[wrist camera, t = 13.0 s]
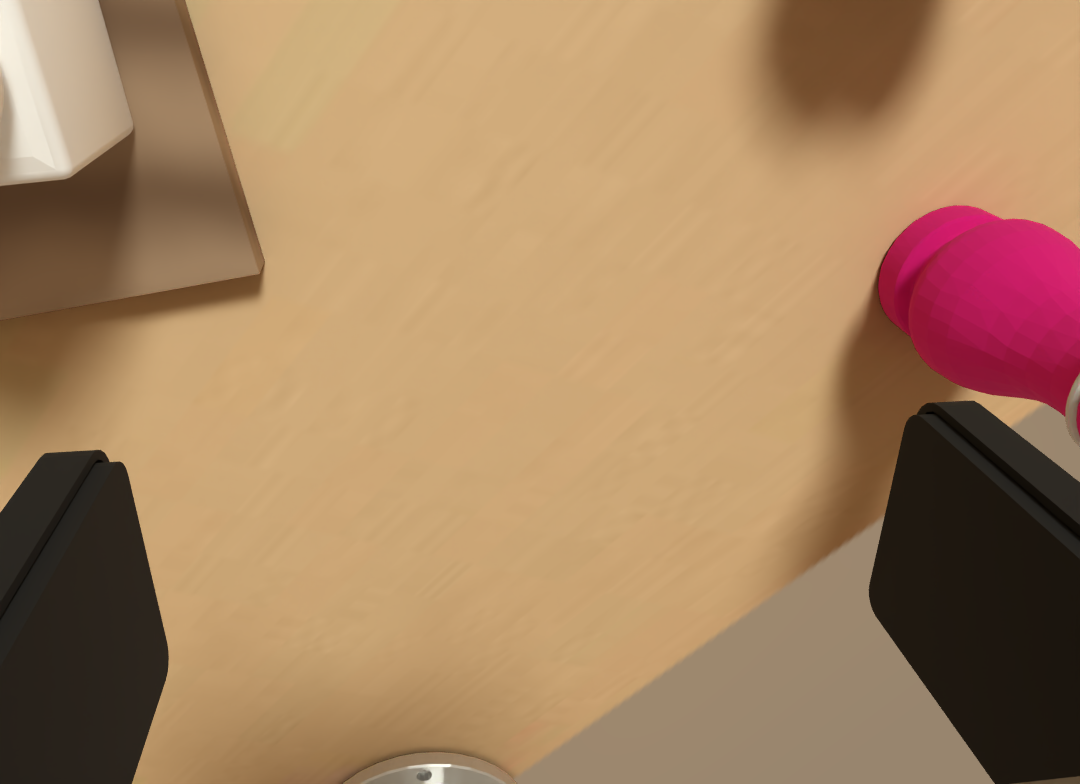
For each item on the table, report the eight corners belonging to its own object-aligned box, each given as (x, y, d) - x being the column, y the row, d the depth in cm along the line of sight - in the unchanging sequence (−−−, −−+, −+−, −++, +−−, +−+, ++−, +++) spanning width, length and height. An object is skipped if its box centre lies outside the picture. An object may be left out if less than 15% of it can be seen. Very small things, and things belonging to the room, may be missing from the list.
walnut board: (264, 261, 36) (259, 273, 35) (-32, 314, 35) (-49, 329, 34) (75, -359, 27) (58, -374, 25) (-335, -302, 26) (-374, -314, 25)
